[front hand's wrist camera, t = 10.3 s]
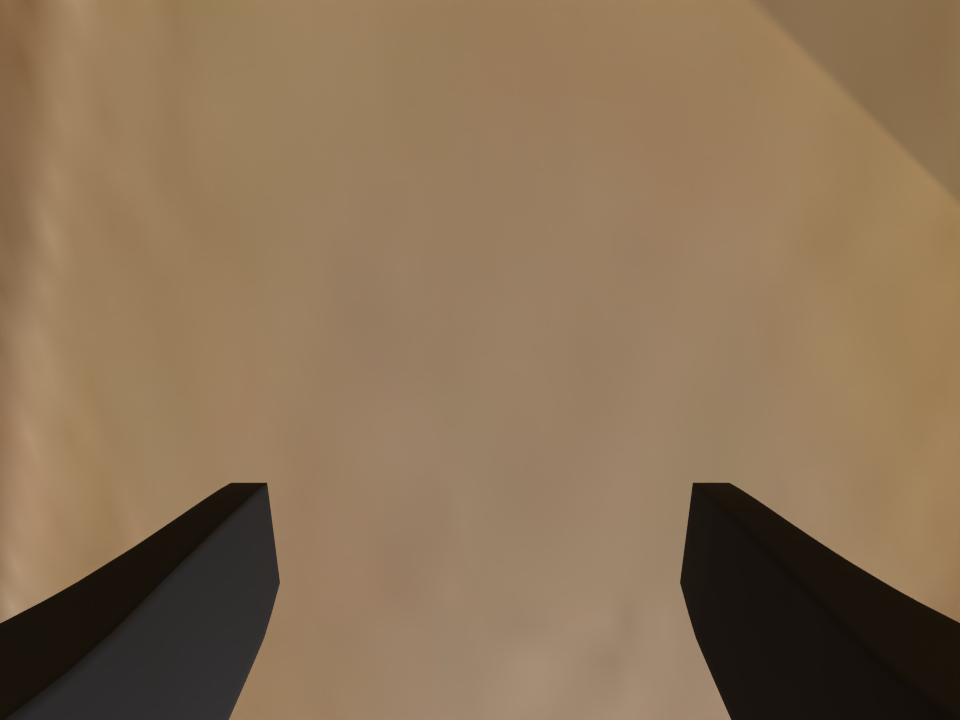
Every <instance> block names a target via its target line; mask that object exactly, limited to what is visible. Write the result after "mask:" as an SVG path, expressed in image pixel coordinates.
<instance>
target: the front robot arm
mask: <svg viewBox="0 0 960 720" xmlns="http://www.w3.org/2000/svg"><path fill="white" fill-rule="evenodd" d="M279 584H280V580H279V572H278V565H277V557H276V549H275V541H274V533H273V526H272V518H271V510H270V502H269V495H268V487H267V483H230V484H228V485H227V486H225V487H223V488H221V489H220V490H218V491H216V492H215V493H213V494H212V495H210V496H209V497H207V498H206V499H204V500H203V501H201V502H200V503H198V504H197V505H195V506H194V507H192V508H191V509H190V510H188V511H187V512H185V513H184V514H182V515H181V516H179V517H178V518H176V519H175V520H173V521H172V522H171V523H169V524H168V525H166V526H165V527H163V528H162V529H160V530H159V531H157V532H156V533H154V534H153V535H151V536H150V537H148V538H147V539H145V540H144V541H142V542H141V543H139V544H138V545H136V546H135V547H133V548H132V549H130V550H128V551H127V552H125V553H124V554H122V555H120V556H119V557H117V558H115V559H114V560H112V561H111V562H109V563H107V564H106V565H104V566H103V567H101V568H99V569H98V570H96V571H95V572H93V573H91V574H90V575H88V576H86V577H85V578H83V579H82V580H80V581H78V582H77V583H75V584H73V585H71V586H70V587H68V588H66V589H65V590H63V591H61V592H59V593H57V594H56V595H54V596H52V597H50V598H48V599H46V600H45V601H43V602H41V603H39V604H37V605H35V606H33V607H31V608H29V609H27V610H26V611H24V612H22V613H20V614H18V615H16V616H14V617H12V618H10V619H8V620H6V621H4V622H2V623H0V720H229V718H230V715H231V713H232V711H233V709H234V706H235V704H236V702H237V700H238V697H239V695H240V693H241V690H242V688H243V686H244V684H245V681H246V679H247V677H248V674H249V672H250V670H251V667H252V665H253V663H254V660H255V658H256V656H257V653H258V651H259V649H260V646H261V644H262V641H263V639H264V636H265V633H266V630H267V626H268V623H269V620H270V616H271V613H272V610H273V606H274V602H275V598H276V595H277V591H278V587H279ZM680 584H681V587H682V591H683V595H684V598H685V602H686V606H687V610H688V613H689V616H690V620H691V623H692V626H693V630H694V633H695V636H696V639H697V641H698V644H699V646H700V649H701V651H702V653H703V656H704V658H705V660H706V663H707V665H708V667H709V670H710V672H711V674H712V677H713V679H714V681H715V684H716V686H717V688H718V690H719V693H720V695H721V697H722V700H723V702H724V704H725V706H726V709H727V711H728V713H729V715H730V718H731V720H960V623H959V622H957V621H955V620H953V619H951V618H949V617H947V616H945V615H943V614H941V613H939V612H937V611H935V610H933V609H931V608H929V607H927V606H926V605H924V604H922V603H920V602H918V601H916V600H914V599H912V598H910V597H909V596H907V595H905V594H903V593H901V592H900V591H898V590H896V589H894V588H893V587H891V586H889V585H887V584H886V583H884V582H882V581H881V580H879V579H877V578H876V577H874V576H872V575H871V574H869V573H867V572H866V571H864V570H862V569H861V568H859V567H857V566H856V565H854V564H852V563H851V562H849V561H848V560H846V559H844V558H843V557H841V556H840V555H838V554H837V553H835V552H833V551H832V550H830V549H829V548H827V547H826V546H824V545H823V544H821V543H820V542H818V541H817V540H815V539H814V538H812V537H811V536H809V535H808V534H806V533H805V532H803V531H802V530H800V529H799V528H797V527H796V526H794V525H793V524H791V523H790V522H788V521H787V520H785V519H784V518H783V517H781V516H780V515H778V514H777V513H775V512H774V511H772V510H771V509H769V508H768V507H766V506H765V505H764V504H762V503H761V502H759V501H758V500H756V499H755V498H753V497H752V496H750V495H749V494H747V493H745V492H744V491H742V490H741V489H739V488H737V487H736V486H734V485H732V484H730V483H693V487H692V495H691V502H690V510H689V518H688V526H687V533H686V541H685V549H684V557H683V565H682V572H681V580H680Z"/></svg>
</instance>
